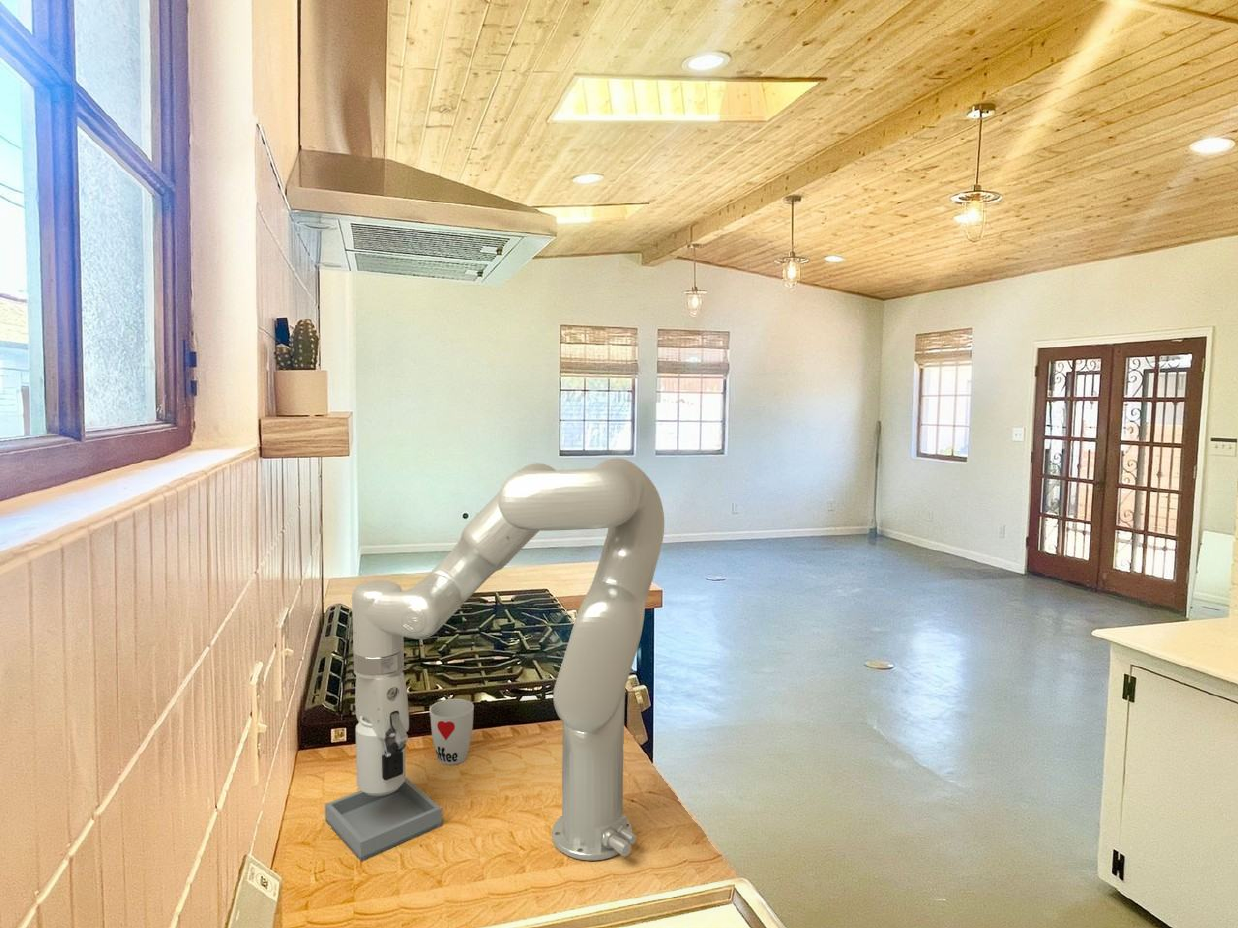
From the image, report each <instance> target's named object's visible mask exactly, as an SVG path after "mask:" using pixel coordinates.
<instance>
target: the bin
mask: <svg viewBox="0 0 1238 928" xmlns="http://www.w3.org/2000/svg"><path fill="white" fill-rule="evenodd" d="M442 810H443V808H442V807H441V806H440V805H438V803H436V802H435V801H434V800H432V798H430V797H429V796H428V795H427V794H425V792H423V791H422V790H421V789H420V788H419V787H418V786H417V785H415V784H414V783H413V782H412V781H410V779H408V778H407V777H406V780H405V781H404V783H403V784H402V785H401V786H400V787H399V788H398V789H397V790H396V791H394V792H392V793H390V794H386V795H382V796H371V795H367V794H366V793H364V792H363V791H361V790H358V791H356V792H354V793H350V794H348V795H345V796H343V797H339V798H338V799H335V800H333V801H329V802H327V803H325V804H324V811H325V812H324V816H325V823H326V824H327V825H328V826H329V827H330V826H331V827H330V828H331V829H332V830H333V831H334V833H335V832H336V833H335V834H336V835H337V836H338V837H339V839H341V841H342V842H343V843H344V844H345V845H346V846H347V848H348V850H349V849H350V851H351V852H352V854H354V855H355V857H356V858H357V859H358V860H359V861H360V862H363V861H366V860H368V859H370V858H372V857H374V856H377V855H379V854H381V853H384V852H386V851H388V850H390V849H392V848H395V847H397V846H399V845H402V844H404V843H406V842H408V841H411V840H413V839H415V838H418V837H420V836H421V835H422V836H423V835H424V834H426V833H429V832H431V831H434V830H436V829H438V828H440V827H442V826H443V811H442Z"/></svg>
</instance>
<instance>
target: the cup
mask: <svg viewBox="0 0 1238 928" xmlns="http://www.w3.org/2000/svg"><path fill="white" fill-rule="evenodd" d="M474 708H475V706H474V704H473V702H472V701H469V700H467V699H464V698H463V699H462V698H447V699H443V700H440V701H437V702H435V703H434V704H432V705H431V706H430V707H429V720H430V732H431V738H432V742H433V747H434V751H435V754H436V756H437V759H438V762H439V763H440V764H442V765H446V766H455V765H458V764H461V763H463V762H464V761H465V760H466V758H467V755H468V752H469V749H470V745H471V740H472V734H473V729H474V726H473V725H474V710H475V709H474Z"/></svg>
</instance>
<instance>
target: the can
mask: <svg viewBox="0 0 1238 928" xmlns="http://www.w3.org/2000/svg"><path fill="white" fill-rule="evenodd" d="M372 726H373V725H372V724H369V723H366V722H365V721H364V720H363V717H362V716H360V722H358V723H357V724H356V725H355V757H356V759H355V761H356V786H357V788H358V790H359V791H363V792H364V793H366V794H367V795H371V796H382V795H386V794H390V793H392V792H394V791H396V790H397V789H398V788H399V787H400V786H401V785H402V784H403V783H404V781H405V780H406V778H407V777H406V775H407V774H406V747H405V748H404V752H403V774H402V775H399V776H397V777H394V778H391V779H389V780H384V779H383V778H382V755H385V754H384V749H383V745H382V739H380V738H378V737H377V735H376V733H375V732H374V730H373V728H372ZM391 733H394V731H393V729H392V728H390V729H388V732H386V735H388V734H391ZM395 739H396V737H392V738H389V739H388V743H389V747H390V746H391V744H392V743H394V742H395Z"/></svg>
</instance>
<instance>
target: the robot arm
mask: <svg viewBox="0 0 1238 928" xmlns="http://www.w3.org/2000/svg"><path fill="white" fill-rule="evenodd" d="M664 512H665V511H664V507H663V503H662V499H661V496H660V494H659V492H658V489H657V487H656V486H655V485H654V482H653V481H652V480H651V479H650V478H649V476H648V475H647V474H646V472H644V471H643V469H641V468H640V467H639V466H637V465H636V464H635V463H634V462H631V461H629V460H627V459H623V458H610V459H607V460H604V461H602V462H600V463H598V464H597V465H596V466H595V467H593V468H580V469H561V470H557V469H555V468H554V467H552V466H550V465H548V464H545V463H541V462H540V463H531V464H527V465H525V466H524V467H522V468H521V469H517V471H515V472H513V473H512V474H511V475H510V476H508V477H507V478H506V480H504V482H503V483H502V486H501V487H500V489H499V491H498V492H497V494H496V495H495V496H494V497H493V498H492V499H491V500H490V501H489V502H488V503H487V504H486V505H485V506H484V507H483V508H482V509H481V510H480V511H479V512H478V513H477V514H476V515H475V516H474V517H473V518H472V519H471V520H470V521H469V522H468V524H467V525H465V527H464V529H463V530H462V532H461V535H460V538H459V541H458V542H457V543H456V545H455V546H454V547H453V549H452V550H450V551H449V552H448V554H447V555H446V556H445V557H444V558H443V559H442V560H441V561H440V562H439V563H438V564H437V565H435V567H434V569H432V571H430V572H429V573H428V575H426V576H425V577H424V578H423V579H422V580H420V581H419V582H418V583H417V584H415V585H414V586H413V587H411V588H408V589H405V590H403V588H402V587H401V586H400V585H399V584H398V583H397V582H395V581H391V580H371V581H367V582H364V583H361V584H359V585H357V586H356V587H355V588H354V589H353V592H352V595H351V596H352V598H351V601H352V605H351V606H352V607H351V609H352V641H353V643H352V646H353V647H352V648H353V674H354V675H355V693H354V694H355V695H354V696H355V698H354V700H355V701H354V708H355V716H356V720H357V722H358V723H359V722H360V716H362V717H363V720H364V721H365V722H366V723H369V724H372V725H373V726H372V728H373V730H374V732H375V733H376V735H377V737H378V738H380V739H382V745H383V749H384V754H385V755H382V778H383V779H384V780H389V779H391V778H394V777H397V776H399V775H402V774H403V752H404V748H405V749H406V744H407V742H408V740H409V735H408V734H407V732H409V730H410V715H409V714H410V713H409V712H410V711H409V701H408V698H409V697H408V691H407V685H406V684H407V683H406V678H405V677H406V676H405V673H404V671H403V670H404V669H405V657H404V656H405V655H404V654H405V653H404V651H405V650H404V649H405V647H404V645H405V644H404V643H405V642H404V638H407V639H413V640H424V639H428V638H429V637H432V636H434V635H435V634H436V633H437V632H438V631H439V630H440V629H441V628H442V627H443V626H444V625H445V624H446V623H447V621H448V620H450V619H451V617H452V616H453V615H454V614H455V613H456V612H457V611H458V610H459V609H460V608H461V607H462V606H463V605H464V603H465V602H466V601H468V600H469V598H471V596H472V595H474V593H475V592H476V591H478V589H479V588H480V587H481V586H482V585H483V584H484V583H485V582H486V581H487V580H488V579H489V578H490V577H492V575H494V574H495V573H497V572H498V571H500V570H502V569H504V568H505V567H506V565H508V563H510V562H511V560H512V559H513V558H514V557H515V556H516V555H518V553H519V552H520V551H522V549H523V548H524V547H525V546H526V545H527V544H528V543H529V542H530V541H531V540H532V539H533V538H534V537H535V536H536V535H537V534H538V533H539V532H540V531H541V532H543V531H546V532H549V531H554V532H555V531H575V530H576V531H577V530H596V529H598V530H599V529H607V532H606V533H607V534H606V536H605V540H604V544H603V546H602V550H601V554H600V559H599V561H598V565H597V568H596V571H595V574H594V577H593V580H592V582H591V585H590V588H589V589H588V591H587V593H586V594H585V597H584V598H583V601H581V605H580V607H579V609H578V612H577V614H576V617H575V620H574V623H573V626H572V629H571V632H570V636H569V639H568V643H567V645H566V649H565V652H564V655H563V659H562V662H561V665H560V668H559V672H558V675H557V679H556V680H555V684H554V687H553V696H552V697H553V698H552V699H553V700H552V701H553V707H554V709H555V711H556V714H557V716H558V718H559V719H560V720H561V722H562V743H561V745H562V747H561V748H562V749H561V750H562V751H561V753H562V754H561V755H562V759H561V760H562V761H561V765H562V766H561V769H562V770H561V774H562V775H561V777H562V779H561V784H562V785H561V788H562V789H561V791H562V793H561V797H562V799H561V802H562V803H561V816H559V818H557V820H556V821H555V822H554V824H553V827H552V831H551V835H552V842H553V844H554V846H555V847H556V848H557V849H558V850H559V851H560V852H561V853H563V854H564V855H566V856H568V857H570V858H573V859H577V860H581V861H582V860H583V861H600V860H601V861H602V860H606V859H611V858H613V857H615V856H618V855H620V856H622V857H625V858H626V857H628V856H629V855H630V853H631V851H632V845H634V844H635V843H636V841H637V838H638V837H637V835H636V834H635V833H633V828H632V825H631V822H630V821H629V820H628V817H627V815H626V814H625V813H623V810H624V809H623V806H624V805H623V802H624V794H623V793H624V743H625V742H624V741H625V739H624V738H625V705H626V703H625V702H626V701H625V700H626V687H627V686H626V685H627V683H628V680H629V677H630V674H631V670H632V668H633V664H634V661H635V657H636V655H637V652H638V650H639V645H640V641H641V638H642V632H643V627H644V621H645V609H646V603H647V599H648V596H649V592H650V589H651V586H652V584H653V583H652V582H653V579H654V576H655V572H656V568H657V566H658V565H657V564H658V561H659V557H660V553H661V551H662V547H663V541H664V535H665V513H664ZM390 728H392V729H393V731H394V733H391V734H388V735H386V732H388V729H390ZM392 737H396V739H395V742H394V743H392V744H391V746H390V747H389V743H388V739H389V738H392Z"/></svg>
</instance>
